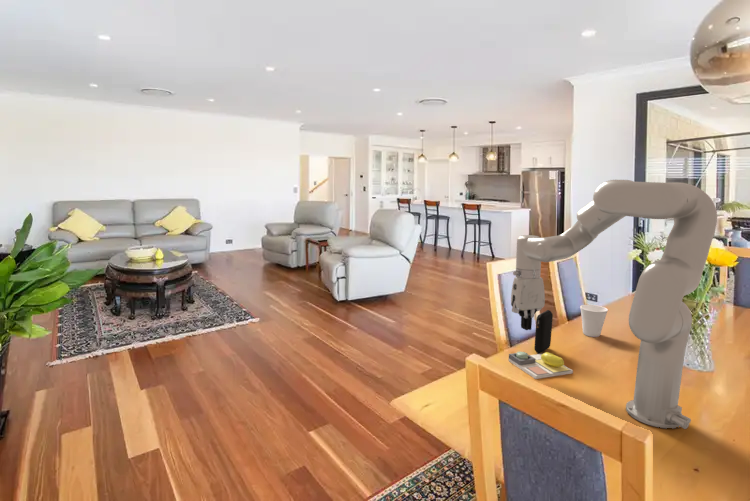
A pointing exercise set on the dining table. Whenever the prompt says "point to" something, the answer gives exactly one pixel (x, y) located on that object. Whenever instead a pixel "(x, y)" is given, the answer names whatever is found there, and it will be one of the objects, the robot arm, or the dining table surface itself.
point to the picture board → (538, 366)
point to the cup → (593, 319)
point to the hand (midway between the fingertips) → (526, 328)
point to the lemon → (552, 359)
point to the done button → (522, 355)
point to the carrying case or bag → (543, 331)
